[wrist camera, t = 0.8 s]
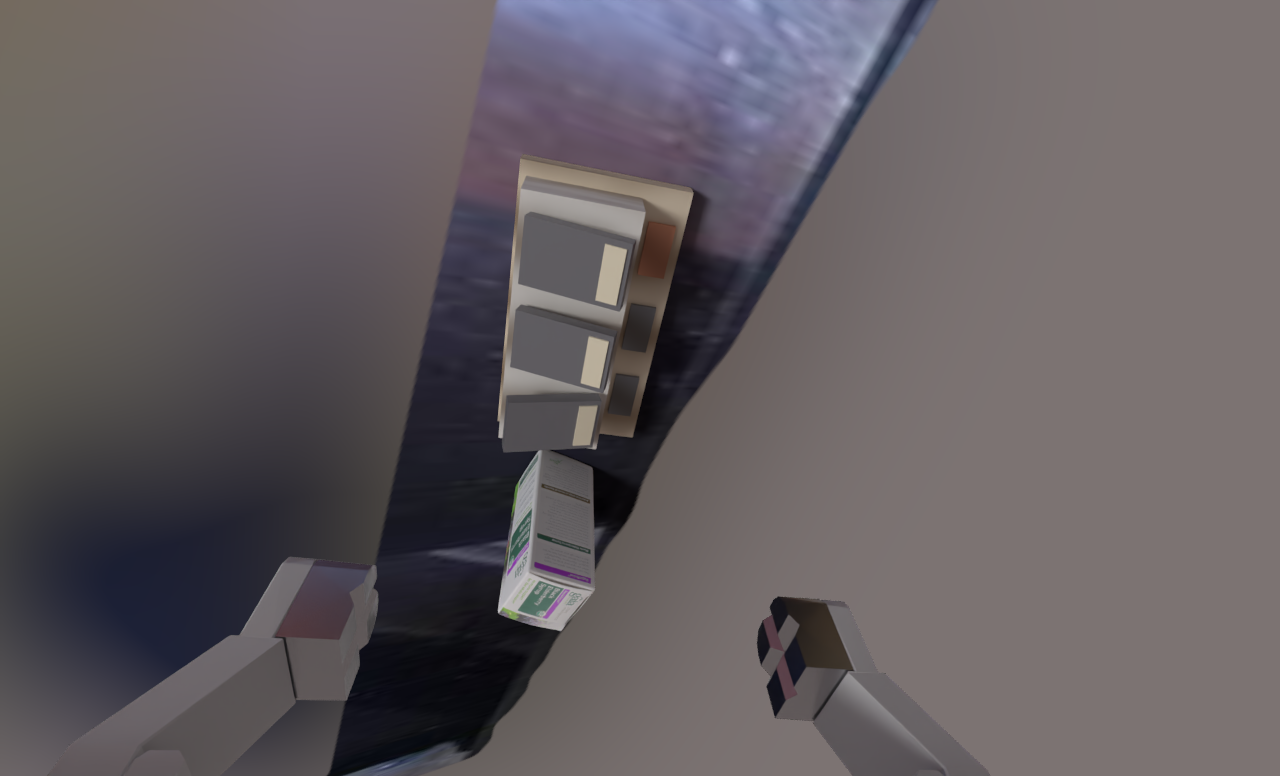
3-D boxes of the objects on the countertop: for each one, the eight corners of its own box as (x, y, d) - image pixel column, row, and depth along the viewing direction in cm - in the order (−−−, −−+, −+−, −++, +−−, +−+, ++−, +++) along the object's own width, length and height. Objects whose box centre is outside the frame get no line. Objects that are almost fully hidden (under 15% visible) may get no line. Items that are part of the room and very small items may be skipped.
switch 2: (506, 395, 41) (508, 404, 40) (598, 393, 43) (602, 402, 43) (501, 443, 43) (503, 453, 42) (589, 439, 46) (592, 448, 45)
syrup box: (540, 444, 53) (523, 571, 41) (596, 466, 55) (596, 594, 43) (515, 484, 55) (492, 615, 43) (569, 504, 57) (562, 634, 45)
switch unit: (522, 154, 39) (512, 173, 34) (690, 187, 41) (703, 210, 36) (500, 410, 50) (489, 453, 45) (631, 427, 52) (635, 469, 47)
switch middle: (521, 304, 39) (514, 310, 38) (617, 331, 39) (614, 338, 38) (515, 360, 41) (509, 367, 40) (606, 386, 41) (602, 394, 40)
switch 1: (530, 211, 36) (523, 215, 35) (636, 239, 35) (632, 245, 34) (523, 278, 38) (517, 284, 37) (622, 306, 38) (619, 312, 37)
